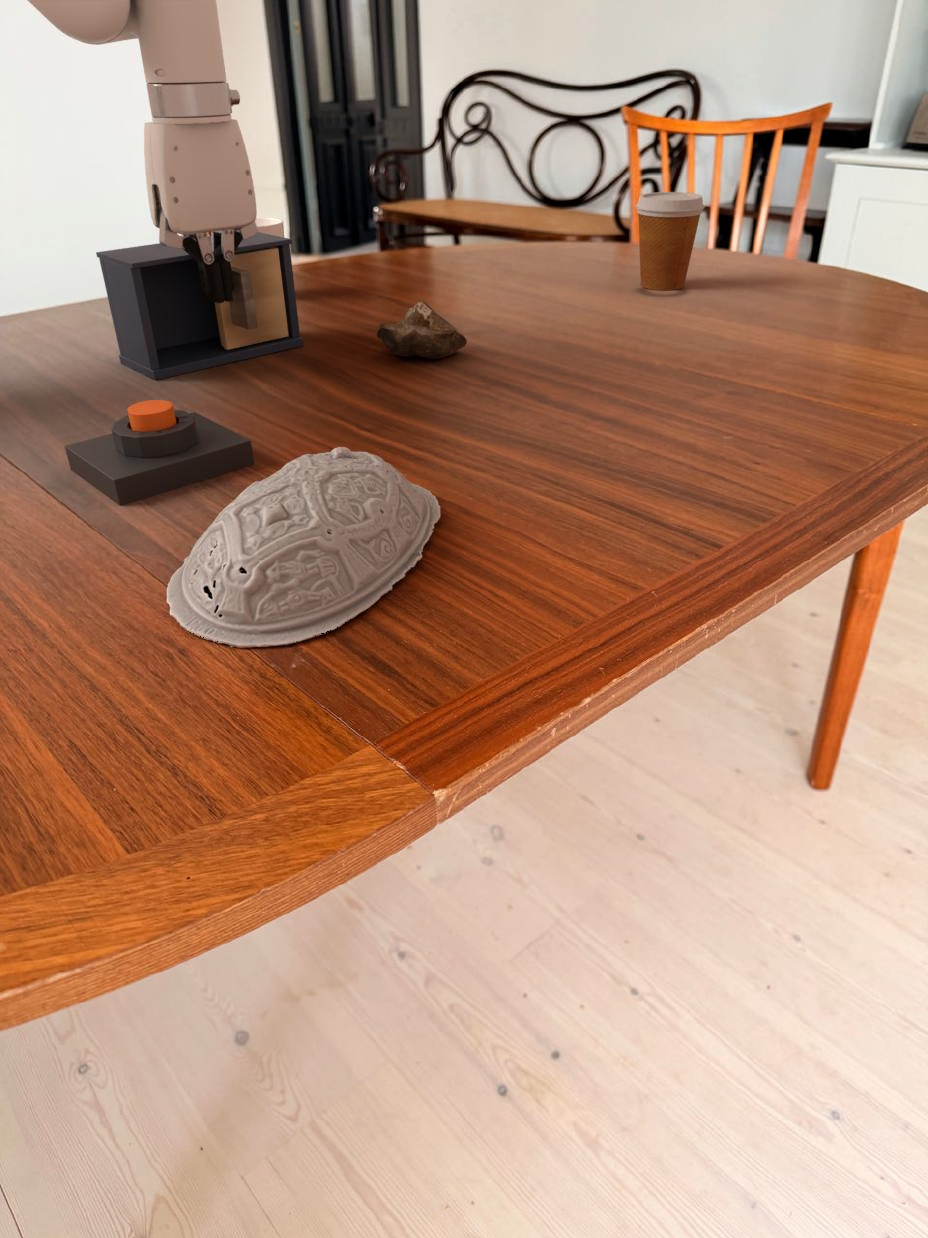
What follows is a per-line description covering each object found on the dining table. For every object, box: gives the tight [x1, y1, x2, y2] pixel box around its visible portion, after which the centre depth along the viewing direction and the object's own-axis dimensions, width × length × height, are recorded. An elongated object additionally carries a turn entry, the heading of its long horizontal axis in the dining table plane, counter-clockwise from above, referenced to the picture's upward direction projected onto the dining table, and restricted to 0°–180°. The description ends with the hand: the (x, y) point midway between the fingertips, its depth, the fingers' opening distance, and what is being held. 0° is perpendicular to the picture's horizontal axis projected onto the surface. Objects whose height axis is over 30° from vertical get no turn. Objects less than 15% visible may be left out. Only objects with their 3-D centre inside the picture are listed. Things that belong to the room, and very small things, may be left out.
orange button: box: [127, 399, 177, 432], centre depth 74 cm, size 4×4×2 cm
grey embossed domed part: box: [166, 446, 442, 649], centre depth 62 cm, size 16×25×7 cm, turn 159°
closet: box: [95, 232, 304, 381], centre depth 103 cm, size 19×9×12 cm, turn 132°
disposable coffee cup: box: [635, 191, 706, 291], centre depth 129 cm, size 10×10×12 cm
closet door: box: [217, 247, 289, 350], centre depth 101 cm, size 8×4×10 cm, turn 132°
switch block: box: [64, 409, 255, 507], centre depth 76 cm, size 12×10×4 cm
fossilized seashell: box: [376, 300, 468, 360], centre depth 103 cm, size 8×7×10 cm
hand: (219, 299), depth 97 cm, fingers closed
